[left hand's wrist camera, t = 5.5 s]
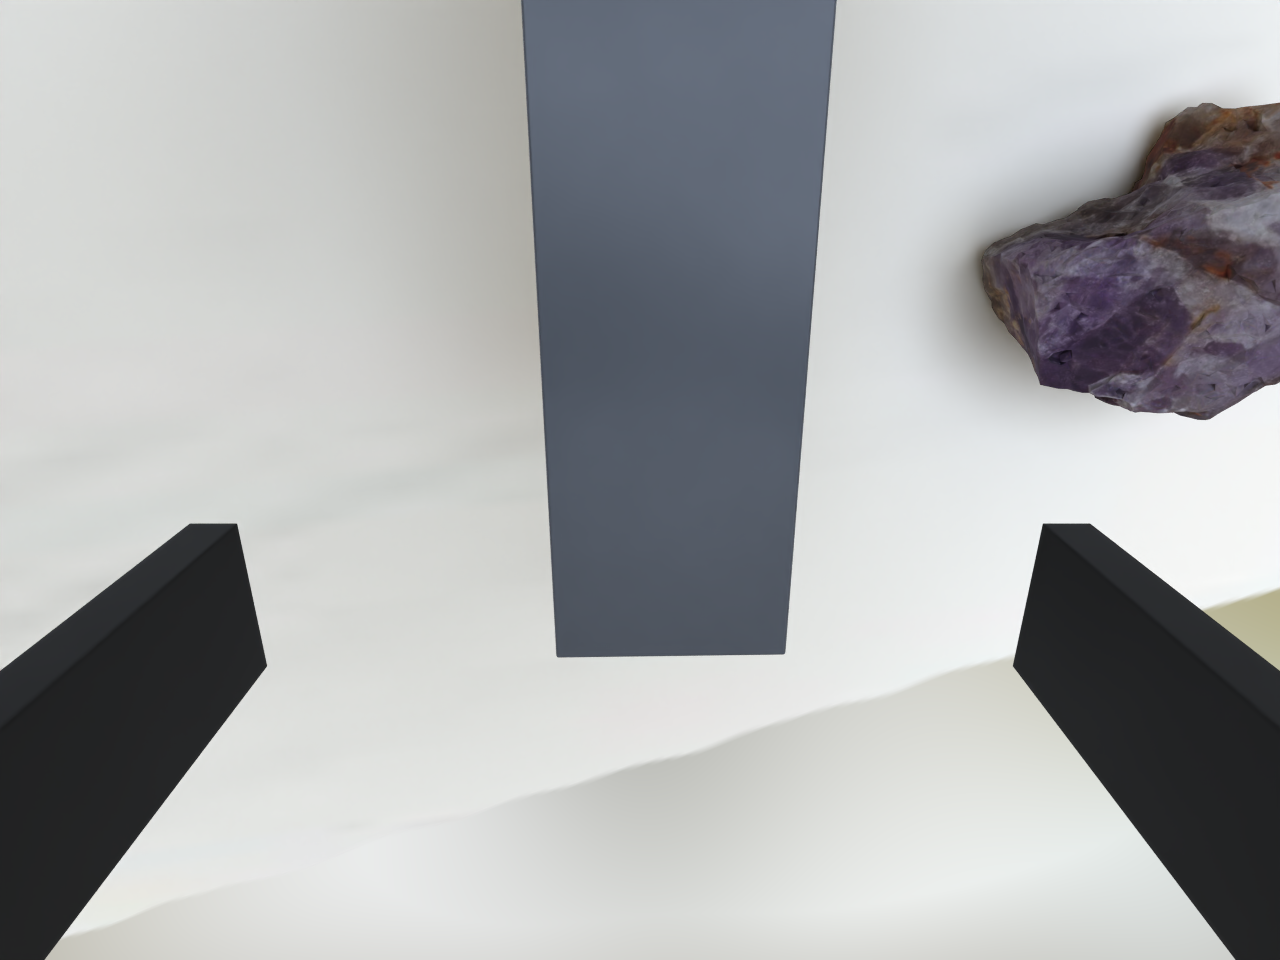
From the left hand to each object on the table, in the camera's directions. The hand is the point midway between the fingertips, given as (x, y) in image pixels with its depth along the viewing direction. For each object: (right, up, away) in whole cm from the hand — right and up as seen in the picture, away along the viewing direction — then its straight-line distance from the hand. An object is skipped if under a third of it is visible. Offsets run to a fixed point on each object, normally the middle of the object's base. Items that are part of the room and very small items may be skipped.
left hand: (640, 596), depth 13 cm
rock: (+20, +11, +20) cm, 30 cm away
